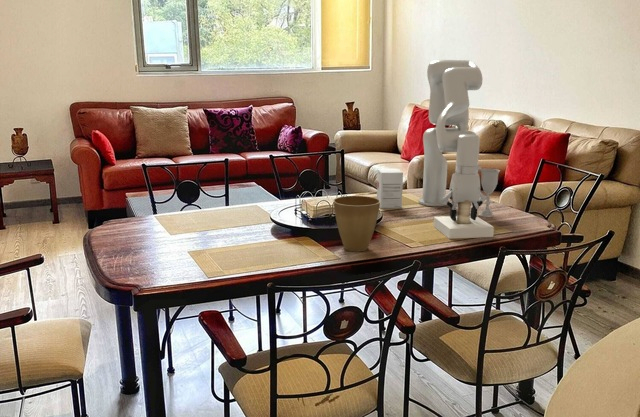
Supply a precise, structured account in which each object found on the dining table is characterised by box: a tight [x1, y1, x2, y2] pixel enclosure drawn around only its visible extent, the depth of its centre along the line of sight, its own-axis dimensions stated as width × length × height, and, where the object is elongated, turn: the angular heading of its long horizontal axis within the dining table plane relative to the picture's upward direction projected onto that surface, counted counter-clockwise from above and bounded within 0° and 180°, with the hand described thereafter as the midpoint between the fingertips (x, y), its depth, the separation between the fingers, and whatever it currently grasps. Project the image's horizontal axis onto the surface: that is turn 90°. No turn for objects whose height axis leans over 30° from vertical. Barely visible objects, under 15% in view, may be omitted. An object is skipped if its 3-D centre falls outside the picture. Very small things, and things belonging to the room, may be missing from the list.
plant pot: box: [332, 195, 380, 252], centre depth 201 cm, size 15×15×16 cm
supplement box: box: [376, 168, 404, 209], centre depth 257 cm, size 9×9×15 cm
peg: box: [456, 200, 472, 224], centre depth 222 cm, size 4×4×12 cm
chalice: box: [479, 167, 501, 218], centre depth 243 cm, size 7×7×18 cm
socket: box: [433, 215, 495, 240], centre depth 223 cm, size 16×16×4 cm
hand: (463, 219), depth 222 cm, fingers open, 6 cm apart
